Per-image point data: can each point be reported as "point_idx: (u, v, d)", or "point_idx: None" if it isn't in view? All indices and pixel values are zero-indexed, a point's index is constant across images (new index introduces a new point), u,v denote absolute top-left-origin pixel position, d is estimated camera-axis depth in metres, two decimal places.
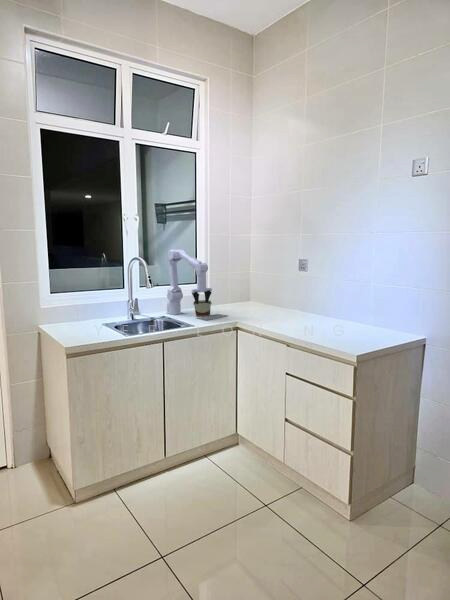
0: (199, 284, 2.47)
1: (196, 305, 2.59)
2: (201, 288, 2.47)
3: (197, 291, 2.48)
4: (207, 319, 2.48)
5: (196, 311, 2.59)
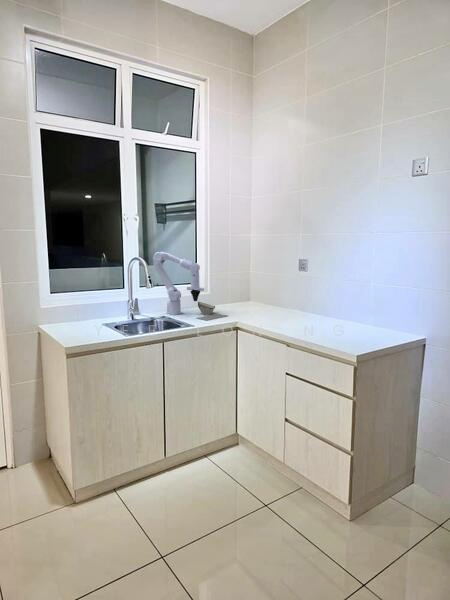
0: None
1: (201, 303, 2.69)
2: (191, 286, 2.64)
3: (191, 289, 2.67)
4: (207, 319, 2.48)
5: (200, 304, 2.65)
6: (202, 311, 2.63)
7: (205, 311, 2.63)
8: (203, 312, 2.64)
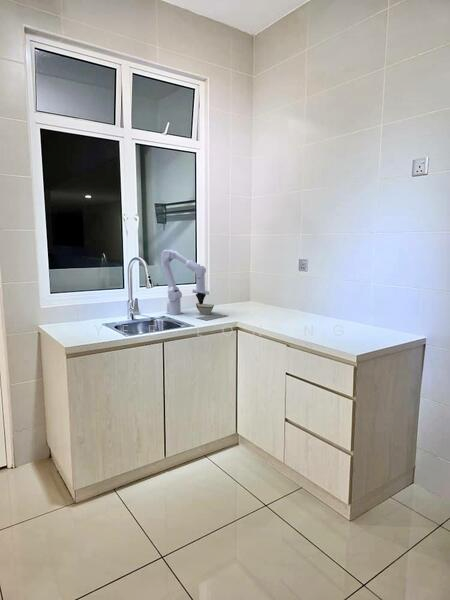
0: None
1: (199, 304, 2.69)
2: (196, 289, 2.61)
3: (197, 292, 2.64)
4: (207, 319, 2.48)
5: (199, 306, 2.65)
6: (201, 312, 2.63)
7: (204, 311, 2.63)
8: (203, 313, 2.64)
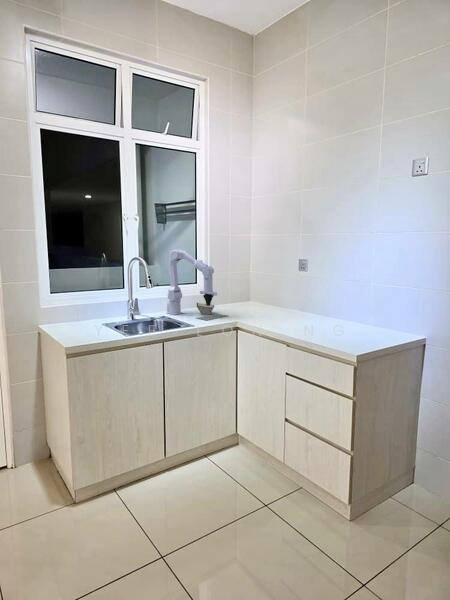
0: None
1: (199, 304, 2.69)
2: (204, 290, 2.56)
3: (204, 293, 2.59)
4: (207, 319, 2.48)
5: (199, 305, 2.65)
6: (201, 312, 2.63)
7: (204, 311, 2.63)
8: (203, 312, 2.64)
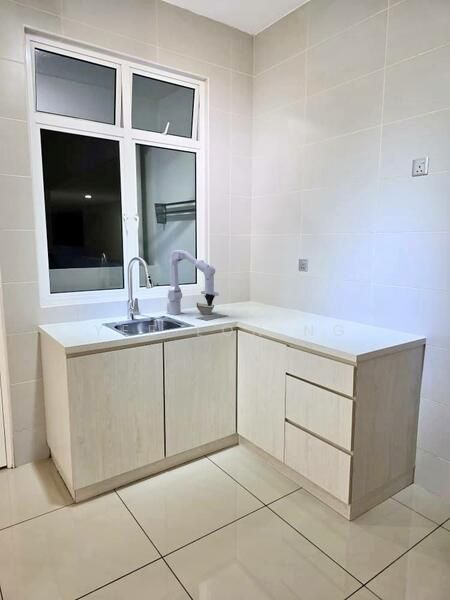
0: None
1: (199, 304, 2.69)
2: (205, 290, 2.55)
3: None
4: (207, 319, 2.48)
5: (199, 305, 2.65)
6: (201, 312, 2.63)
7: (204, 311, 2.63)
8: (203, 312, 2.64)
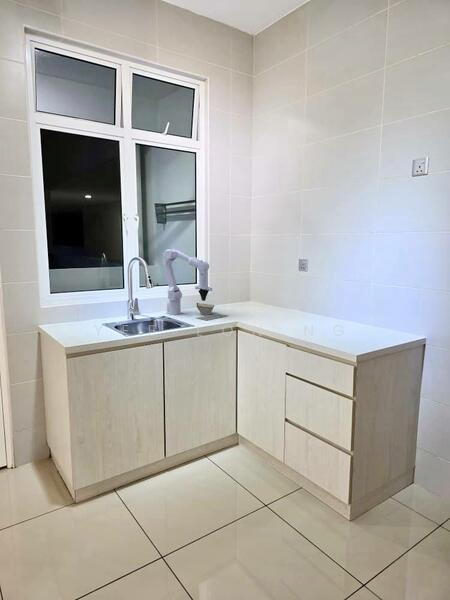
0: None
1: (199, 304, 2.69)
2: (199, 285, 2.58)
3: None
4: (207, 319, 2.48)
5: (199, 305, 2.65)
6: (201, 312, 2.63)
7: (204, 311, 2.63)
8: (203, 312, 2.64)
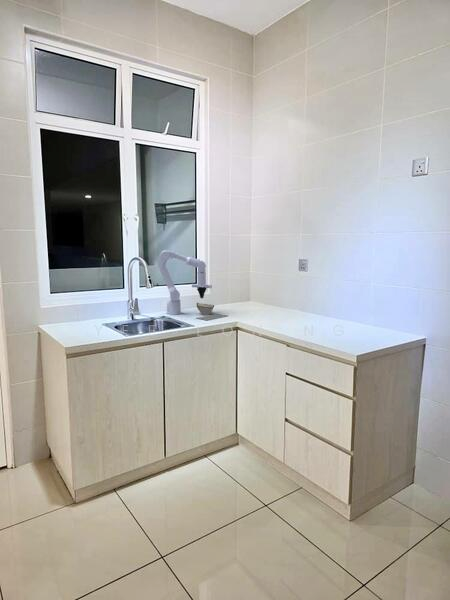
0: (197, 280, 2.68)
1: (199, 304, 2.69)
2: (197, 284, 2.67)
3: (197, 286, 2.70)
4: (207, 319, 2.48)
5: (199, 305, 2.65)
6: (201, 312, 2.63)
7: (204, 311, 2.63)
8: (203, 312, 2.64)
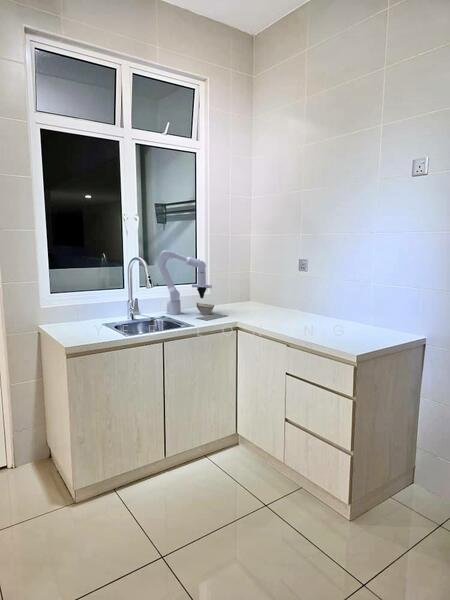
0: (197, 280, 2.68)
1: (199, 304, 2.69)
2: (197, 284, 2.67)
3: (197, 286, 2.70)
4: (207, 319, 2.48)
5: (199, 305, 2.65)
6: (201, 312, 2.63)
7: (204, 311, 2.63)
8: (203, 312, 2.64)
